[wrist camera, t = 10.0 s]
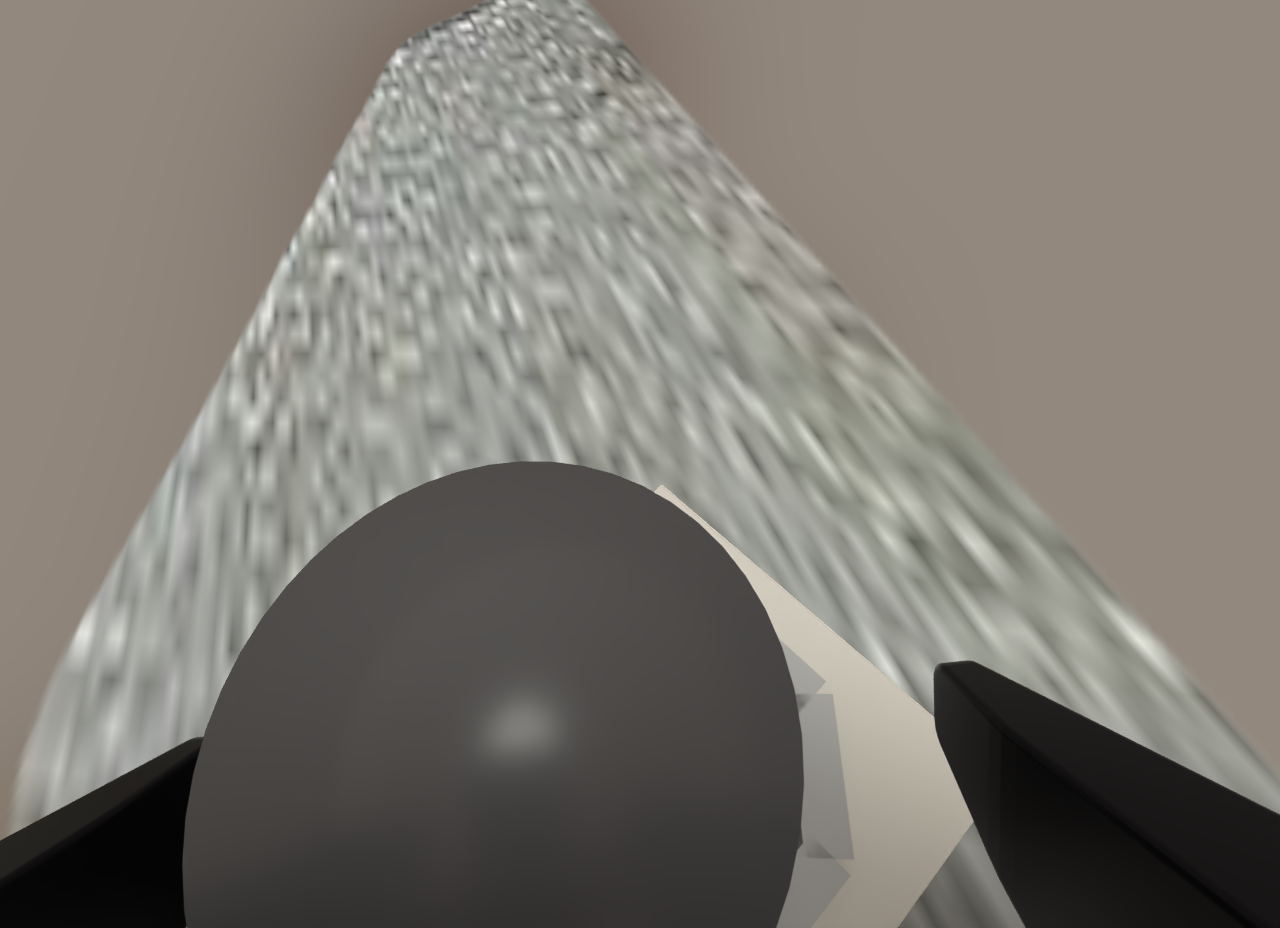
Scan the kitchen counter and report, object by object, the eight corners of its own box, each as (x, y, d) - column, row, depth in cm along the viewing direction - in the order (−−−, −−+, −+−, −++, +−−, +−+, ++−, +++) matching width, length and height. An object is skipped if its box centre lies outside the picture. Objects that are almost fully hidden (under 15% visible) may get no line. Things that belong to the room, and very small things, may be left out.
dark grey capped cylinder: (790, 776, 15) (969, 737, 4) (661, 933, 14) (382, 1524, 3) (660, 645, 17) (533, 367, 6) (538, 772, 16) (84, 727, 5)
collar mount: (989, 778, 15) (1052, 775, 12) (665, 1228, 12) (643, 1369, 9) (664, 497, 21) (652, 446, 18) (381, 767, 18) (307, 762, 15)
